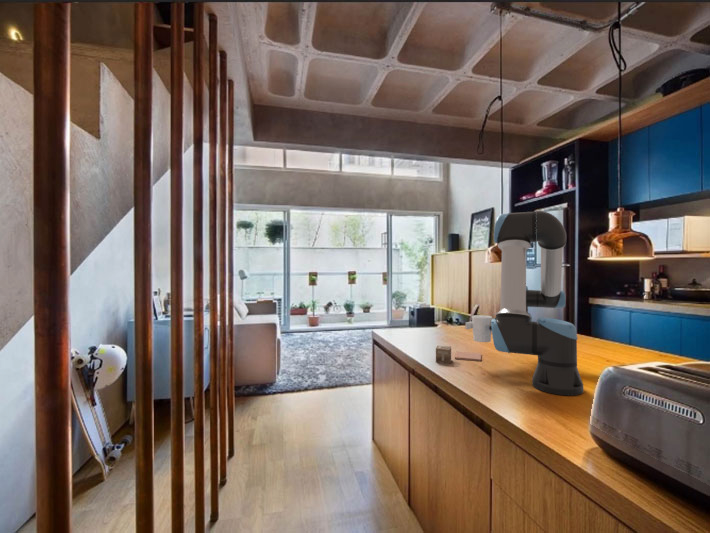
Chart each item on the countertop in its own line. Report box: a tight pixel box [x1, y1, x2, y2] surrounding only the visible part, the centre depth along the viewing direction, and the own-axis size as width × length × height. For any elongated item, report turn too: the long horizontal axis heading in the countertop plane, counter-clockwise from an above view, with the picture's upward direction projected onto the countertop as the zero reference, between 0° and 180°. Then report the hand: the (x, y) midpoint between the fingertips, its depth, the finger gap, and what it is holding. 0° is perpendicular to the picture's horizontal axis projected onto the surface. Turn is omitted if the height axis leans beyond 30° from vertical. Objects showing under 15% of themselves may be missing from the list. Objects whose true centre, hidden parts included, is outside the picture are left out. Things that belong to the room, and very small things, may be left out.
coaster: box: [454, 351, 482, 362], centre depth 159 cm, size 11×11×1 cm
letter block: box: [435, 345, 452, 364], centre depth 153 cm, size 6×6×6 cm
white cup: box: [471, 314, 493, 343], centre depth 143 cm, size 8×8×10 cm
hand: (474, 327), depth 140 cm, fingers closed on white cup, 7 cm apart
